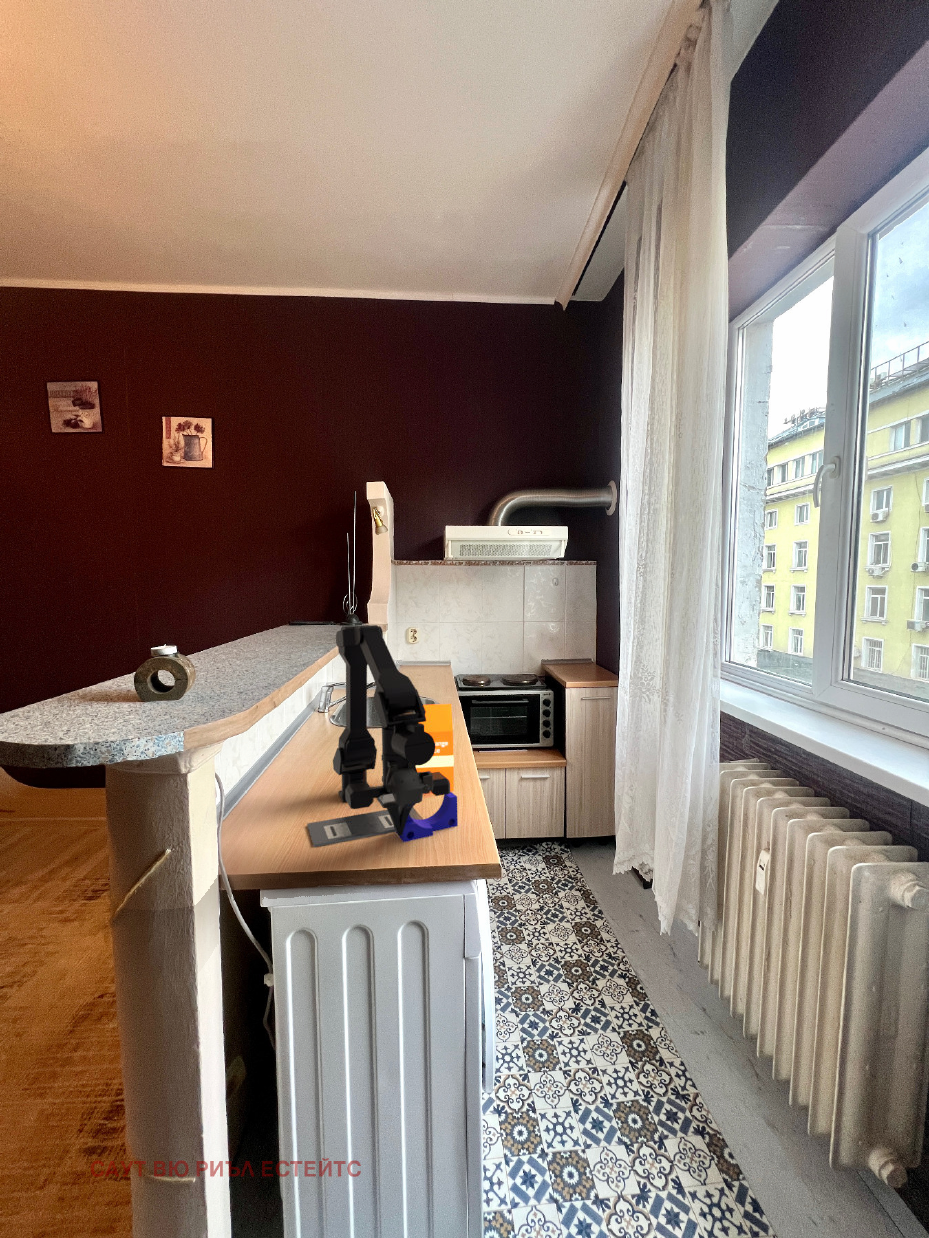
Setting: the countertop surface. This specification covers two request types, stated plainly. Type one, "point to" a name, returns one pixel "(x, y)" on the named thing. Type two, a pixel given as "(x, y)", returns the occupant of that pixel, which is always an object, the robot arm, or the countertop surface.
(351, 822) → the plate
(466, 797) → the countertop surface
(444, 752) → the orange juice
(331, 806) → the countertop surface
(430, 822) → the blue cradle bracket
